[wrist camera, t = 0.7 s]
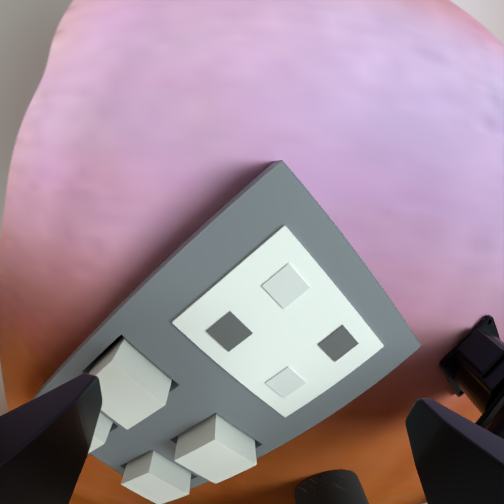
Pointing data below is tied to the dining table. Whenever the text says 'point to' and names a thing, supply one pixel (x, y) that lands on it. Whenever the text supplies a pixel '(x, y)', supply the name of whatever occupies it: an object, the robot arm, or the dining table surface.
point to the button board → (252, 325)
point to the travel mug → (331, 489)
